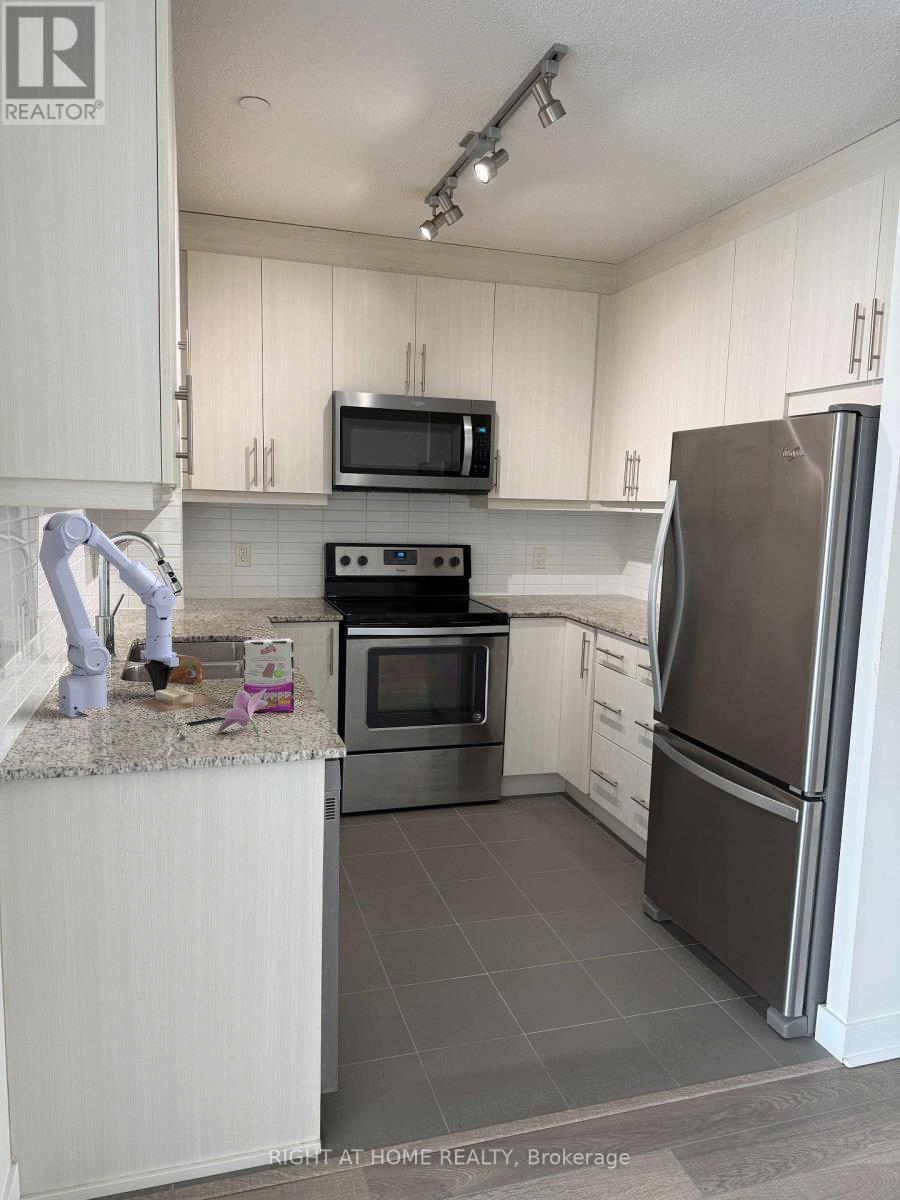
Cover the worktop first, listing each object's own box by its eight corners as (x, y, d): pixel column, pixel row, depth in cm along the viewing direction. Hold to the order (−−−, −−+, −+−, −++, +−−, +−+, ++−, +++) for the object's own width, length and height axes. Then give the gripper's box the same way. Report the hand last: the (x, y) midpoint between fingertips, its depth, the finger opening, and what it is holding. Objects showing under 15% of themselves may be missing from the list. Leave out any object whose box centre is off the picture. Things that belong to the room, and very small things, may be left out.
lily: (277, 730, 177) (259, 689, 178) (288, 721, 167) (268, 677, 168) (224, 754, 172) (206, 711, 173) (231, 746, 162) (211, 701, 163)
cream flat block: (172, 705, 187) (172, 696, 187) (155, 699, 192) (155, 690, 192) (193, 702, 190) (193, 693, 190) (175, 696, 196) (175, 687, 196)
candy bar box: (292, 707, 194) (292, 637, 192) (294, 712, 189) (294, 640, 187) (242, 709, 191) (242, 638, 189) (243, 714, 186) (243, 641, 184)
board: (158, 719, 180) (158, 712, 180) (132, 709, 188) (132, 702, 188) (224, 707, 192) (223, 701, 192) (197, 699, 200) (197, 693, 200)
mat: (193, 727, 174) (193, 725, 174) (167, 717, 181) (167, 716, 181) (243, 718, 183) (243, 716, 183) (216, 709, 190) (216, 707, 190)
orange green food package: (153, 684, 216) (152, 652, 215) (162, 682, 219) (162, 650, 218) (196, 691, 209) (196, 658, 208) (205, 689, 212) (205, 656, 211)
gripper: (190, 637, 193) (191, 695, 194) (159, 630, 202) (160, 685, 204) (161, 640, 187) (162, 699, 189) (131, 633, 197) (132, 689, 199)
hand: (159, 692), depth 196 cm, fingers closed
